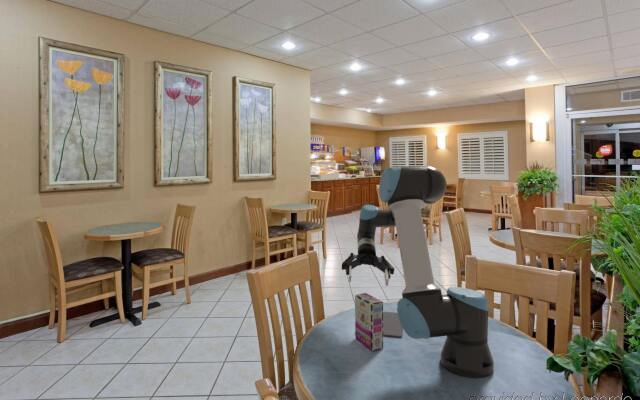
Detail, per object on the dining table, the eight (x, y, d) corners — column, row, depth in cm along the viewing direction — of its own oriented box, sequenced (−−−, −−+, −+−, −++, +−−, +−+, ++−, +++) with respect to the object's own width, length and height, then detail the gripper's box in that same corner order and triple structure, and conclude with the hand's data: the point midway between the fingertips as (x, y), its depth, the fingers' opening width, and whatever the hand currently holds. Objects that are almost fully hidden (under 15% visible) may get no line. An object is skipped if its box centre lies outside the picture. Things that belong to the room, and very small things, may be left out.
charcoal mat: (404, 314, 151) (404, 313, 151) (402, 337, 130) (402, 336, 130) (363, 311, 156) (363, 310, 156) (355, 333, 135) (355, 331, 135)
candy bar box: (384, 348, 122) (383, 301, 121) (371, 352, 120) (371, 304, 119) (366, 335, 132) (366, 292, 131) (354, 338, 130) (354, 294, 129)
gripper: (395, 260, 153) (401, 292, 133) (336, 255, 154) (334, 285, 135) (397, 245, 150) (404, 275, 130) (337, 240, 151) (335, 269, 132)
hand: (368, 280), depth 132 cm, fingers open, 13 cm apart
